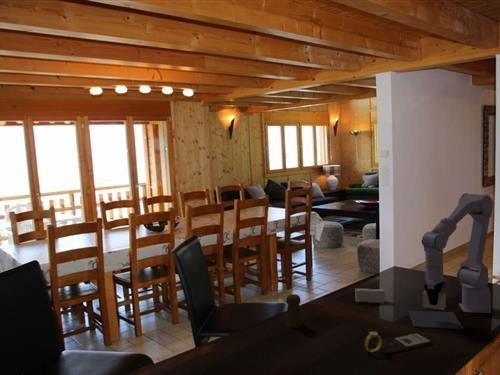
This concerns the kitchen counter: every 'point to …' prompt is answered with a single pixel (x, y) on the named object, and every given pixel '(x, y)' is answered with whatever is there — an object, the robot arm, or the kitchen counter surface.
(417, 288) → the kitchen counter surface
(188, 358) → the kitchen counter surface
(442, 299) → the card box
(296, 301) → the cork
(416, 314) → the rubber mat
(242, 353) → the kitchen counter surface
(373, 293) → the napkin holder
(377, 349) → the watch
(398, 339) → the chocolate bar
